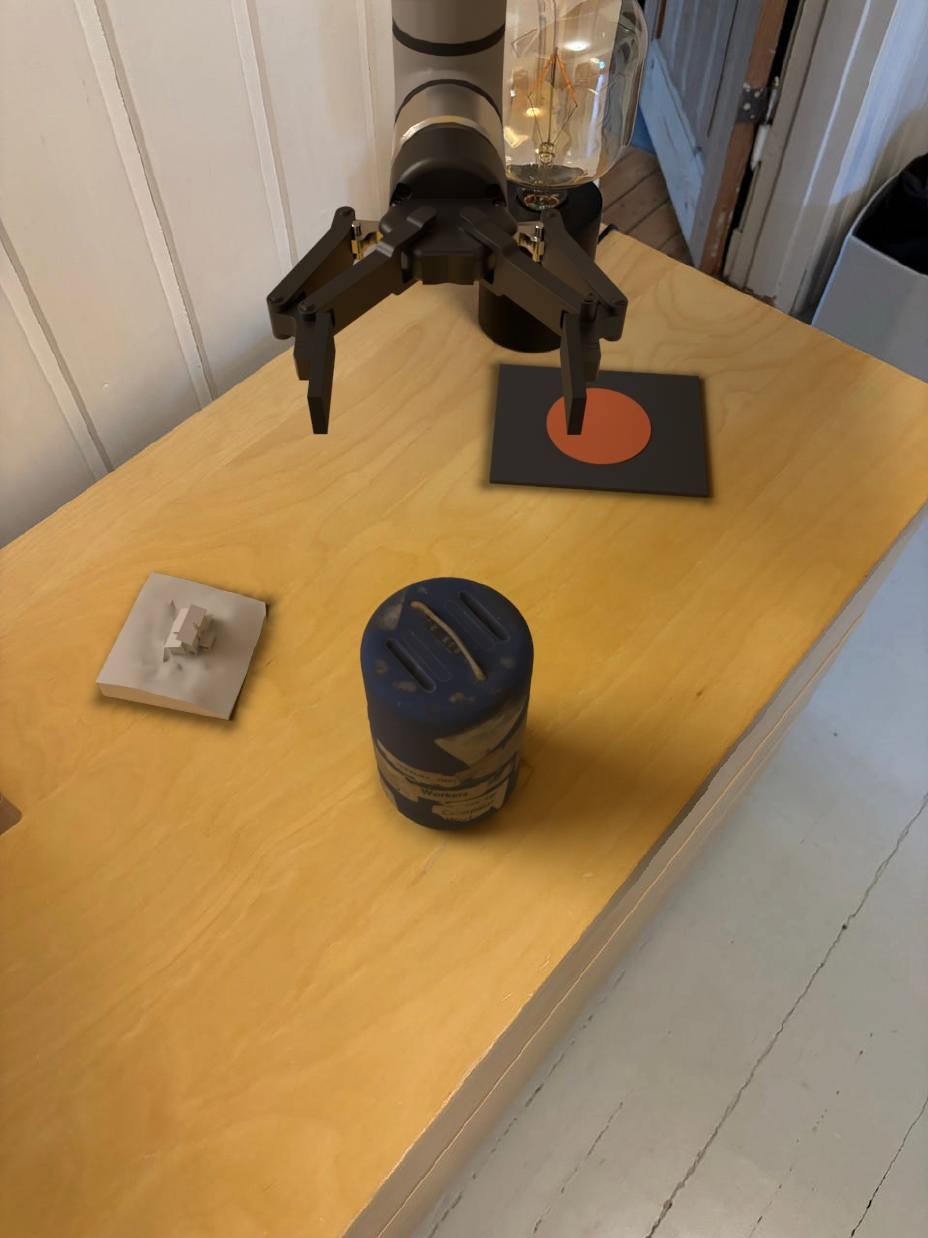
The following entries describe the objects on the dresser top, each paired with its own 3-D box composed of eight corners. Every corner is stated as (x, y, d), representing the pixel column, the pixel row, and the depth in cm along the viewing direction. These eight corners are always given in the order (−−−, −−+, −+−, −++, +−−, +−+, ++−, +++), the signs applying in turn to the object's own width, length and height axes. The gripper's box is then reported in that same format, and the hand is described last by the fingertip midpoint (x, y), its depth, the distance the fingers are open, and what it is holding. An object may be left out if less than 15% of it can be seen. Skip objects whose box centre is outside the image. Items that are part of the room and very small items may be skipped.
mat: (697, 379, 85) (699, 375, 84) (706, 497, 77) (708, 493, 77) (499, 366, 85) (499, 362, 85) (489, 483, 78) (489, 479, 77)
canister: (410, 861, 60) (394, 740, 45) (358, 739, 65) (328, 592, 50) (543, 804, 63) (570, 670, 47) (483, 689, 67) (491, 534, 52)
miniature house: (259, 718, 66) (249, 693, 63) (98, 726, 65) (80, 700, 62) (269, 579, 72) (261, 549, 69) (123, 585, 72) (107, 555, 69)
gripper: (631, 231, 64) (670, 465, 52) (265, 229, 64) (223, 464, 52) (650, 123, 58) (700, 362, 46) (244, 120, 57) (192, 360, 46)
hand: (447, 417), depth 49 cm, fingers open, 13 cm apart
